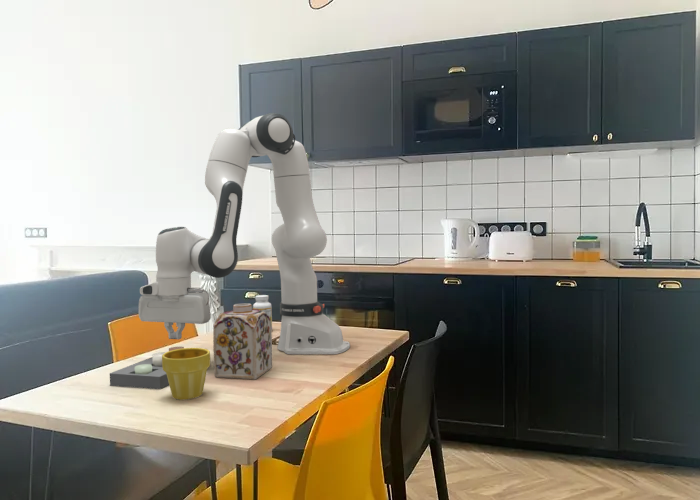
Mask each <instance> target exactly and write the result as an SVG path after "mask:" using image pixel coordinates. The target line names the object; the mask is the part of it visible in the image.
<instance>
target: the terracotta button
mask: <svg viewBox="0 0 700 500" xmlns="http://www.w3.org/2000/svg"><path fill="white" fill-rule="evenodd" d="M182 348H185V347H184V346H172V347H169V348H168V351H171V350H176V349H182Z"/></svg>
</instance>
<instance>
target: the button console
mask: <svg viewBox="0 0 700 500" xmlns="http://www.w3.org/2000/svg"><path fill="white" fill-rule="evenodd" d="M141 364H151V365H152V372H151V373H148V374H146V375H145V374H135V366H137V365H141ZM109 386H113V387H121V388H123V387H126V388H135V389H136V388H138V389H150V390H151V389H152V390H162V389H164V388H165V387H166V388H167V387H168V386H169V382H168V378H167V375H166V372H165V371H164V370H163V367H155V366H153V359H152V356H151V357H148V358H146V359H143V360H141V361H138V362H134V363H133V364H131V365H128V366H125V367H122V368H120V369H117V370H114V371H113V372H109Z"/></svg>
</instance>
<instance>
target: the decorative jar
mask: <svg viewBox="0 0 700 500" xmlns="http://www.w3.org/2000/svg"><path fill="white" fill-rule="evenodd" d="M232 306H233V307H232V308H233V309H231V310H226V311H222V312H221V313H219V315H218V316H217V318H216V320H215V321H214V323H213V327H212V328H213V335H212V336H213V341H212V343H213V346H212V347H213V351H212V352H213V369H214V370H213V371H214V372H213V374H214V375H213V376H214V377H215V378H220V379H221V378H222V379H223V378H224V379H237V380H238V379H240V380H241V379H242V380H254V381H255V380H257V379H258V378H259V377H261V376H263V375H264V374H265V373H267V372H269V371H270V370H272V368H273V337H272V336H273V334H272V330H271V318H270V317H269V316H268V315H267V314H266V312H264V311H262V310H259V309H253V305H252V304H251V303H235V304H233V305H232Z"/></svg>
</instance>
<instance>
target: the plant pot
mask: <svg viewBox="0 0 700 500" xmlns="http://www.w3.org/2000/svg"><path fill="white" fill-rule="evenodd" d="M163 353H164V354H163V355H162V367H163V370H164V371H165V372H166V375H167V378H168V382H169V385H168V386H169V389H170V393H171V397H172V398H173V399H174V400H179V401H180V400H181V401H184V400H185V401H186V400H187V401H188V400H193V399H197V398H199V397H200V396H202V395H203V393H204V388H205V384H206V383H205V382H206V377H207V372H208V369H209V367H211V366H210V365H211V351H210V350H209V349H207V348H202V347H184V348H182V349H176V350H171V351H169V350H168V351H166V352H163Z"/></svg>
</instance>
